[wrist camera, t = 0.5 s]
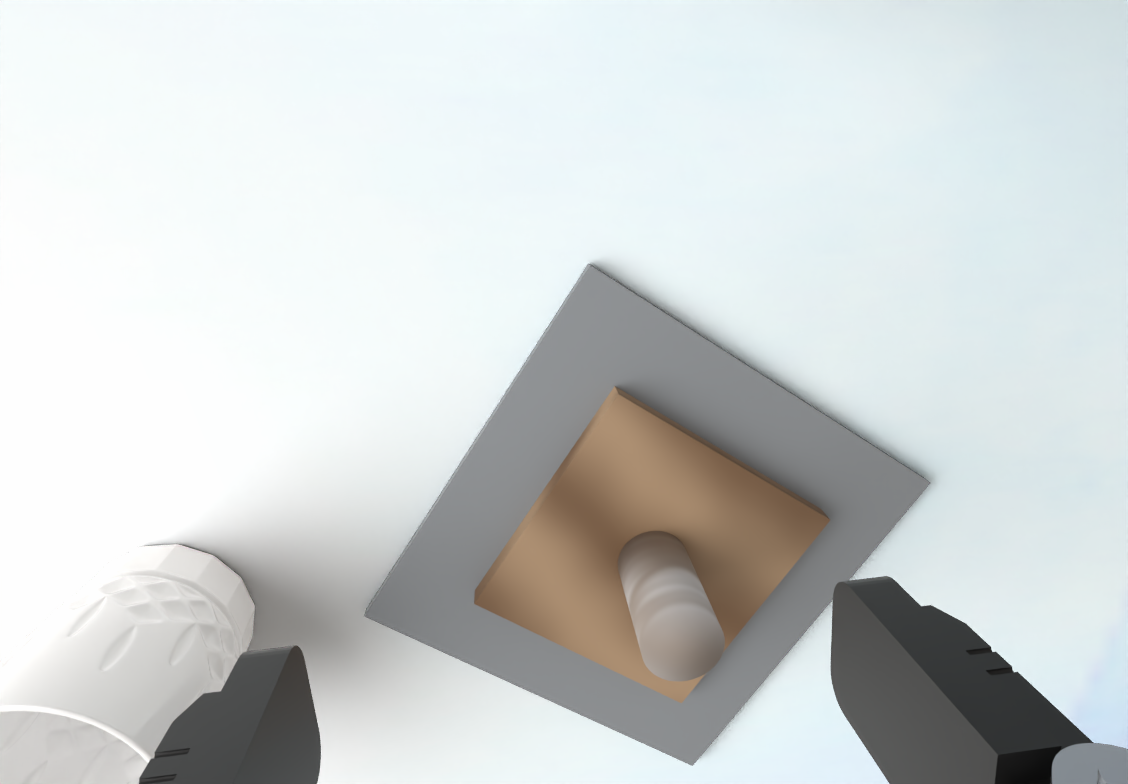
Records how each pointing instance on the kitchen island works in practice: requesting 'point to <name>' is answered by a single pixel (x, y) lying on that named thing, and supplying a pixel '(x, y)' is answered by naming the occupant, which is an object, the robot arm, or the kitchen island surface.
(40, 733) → the white cup
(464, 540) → the mat
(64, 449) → the kitchen island surface
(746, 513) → the lid
